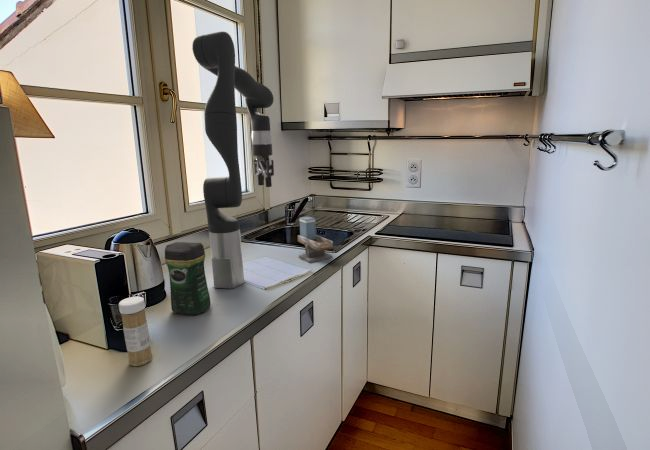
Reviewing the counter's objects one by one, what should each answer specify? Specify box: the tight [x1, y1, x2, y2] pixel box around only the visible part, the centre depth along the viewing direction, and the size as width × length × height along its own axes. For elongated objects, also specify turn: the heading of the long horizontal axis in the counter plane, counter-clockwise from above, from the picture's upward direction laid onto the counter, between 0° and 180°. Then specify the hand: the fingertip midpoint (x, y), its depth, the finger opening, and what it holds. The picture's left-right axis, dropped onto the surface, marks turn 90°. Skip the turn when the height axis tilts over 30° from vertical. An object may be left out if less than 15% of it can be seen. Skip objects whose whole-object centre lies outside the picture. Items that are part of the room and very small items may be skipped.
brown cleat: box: [297, 234, 334, 264], centre depth 141 cm, size 16×10×8 cm, turn 32°
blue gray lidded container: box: [298, 216, 317, 240], centre depth 144 cm, size 5×4×8 cm
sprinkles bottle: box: [118, 296, 153, 367], centre depth 77 cm, size 5×5×14 cm
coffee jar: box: [164, 241, 212, 316], centre depth 99 cm, size 10×8×19 cm
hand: (264, 185), depth 150 cm, fingers open, 7 cm apart
